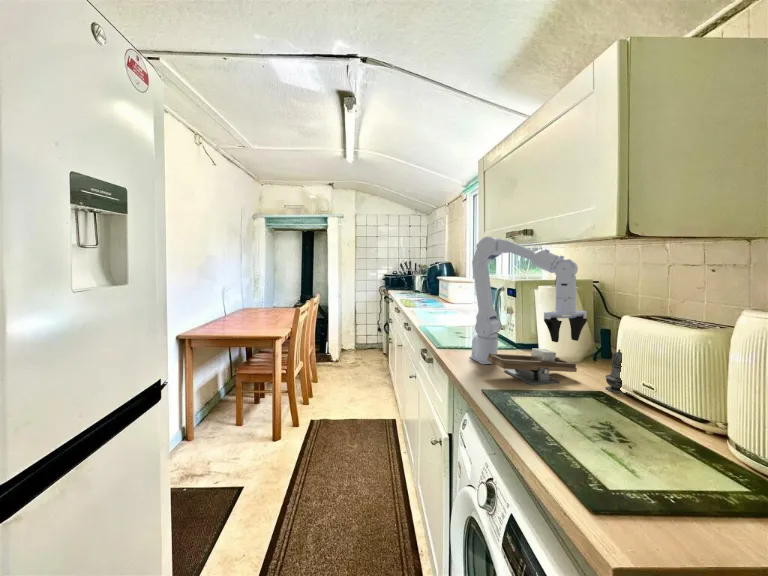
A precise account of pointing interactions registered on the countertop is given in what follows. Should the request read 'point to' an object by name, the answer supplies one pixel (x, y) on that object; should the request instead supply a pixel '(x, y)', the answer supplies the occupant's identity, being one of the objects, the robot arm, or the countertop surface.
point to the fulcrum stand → (533, 376)
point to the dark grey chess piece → (615, 374)
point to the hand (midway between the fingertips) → (564, 340)
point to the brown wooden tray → (529, 363)
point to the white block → (542, 355)
